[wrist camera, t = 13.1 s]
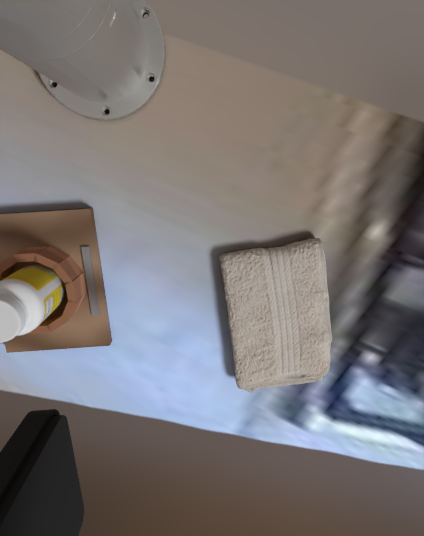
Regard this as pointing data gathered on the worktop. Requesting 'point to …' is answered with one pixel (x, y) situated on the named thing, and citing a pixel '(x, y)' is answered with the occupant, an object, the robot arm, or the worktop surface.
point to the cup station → (68, 269)
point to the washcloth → (278, 314)
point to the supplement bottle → (28, 299)
